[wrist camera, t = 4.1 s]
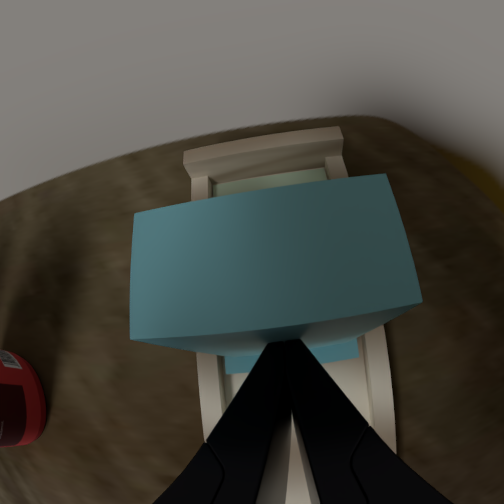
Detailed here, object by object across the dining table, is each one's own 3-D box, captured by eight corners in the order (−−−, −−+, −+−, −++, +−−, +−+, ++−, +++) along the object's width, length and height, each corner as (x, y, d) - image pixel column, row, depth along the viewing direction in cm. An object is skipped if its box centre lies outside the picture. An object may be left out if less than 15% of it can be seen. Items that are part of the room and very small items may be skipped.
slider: (355, 357, 13) (454, 339, 4) (230, 373, 14) (109, 380, 5) (342, 278, 15) (395, 142, 6) (224, 294, 15) (118, 188, 6)
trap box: (386, 510, 11) (402, 537, 8) (228, 527, 12) (212, 555, 9) (335, 162, 19) (339, 126, 16) (201, 183, 20) (183, 151, 17)
